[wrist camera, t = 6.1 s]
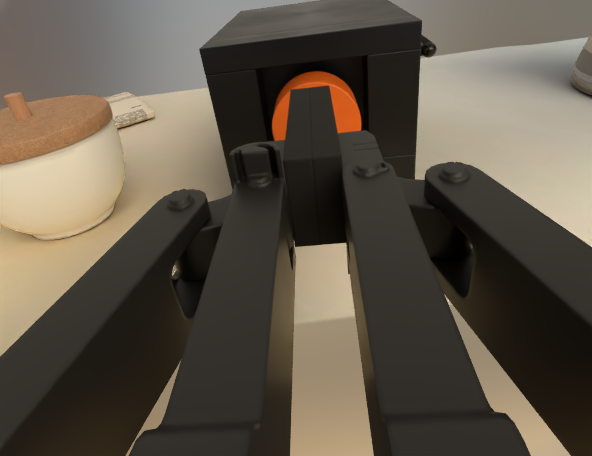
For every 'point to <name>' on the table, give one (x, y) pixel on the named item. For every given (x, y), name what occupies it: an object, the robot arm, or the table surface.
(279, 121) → the button
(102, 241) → the table surface
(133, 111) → the newspaper
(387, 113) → the box
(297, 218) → the robot arm
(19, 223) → the trinket box
